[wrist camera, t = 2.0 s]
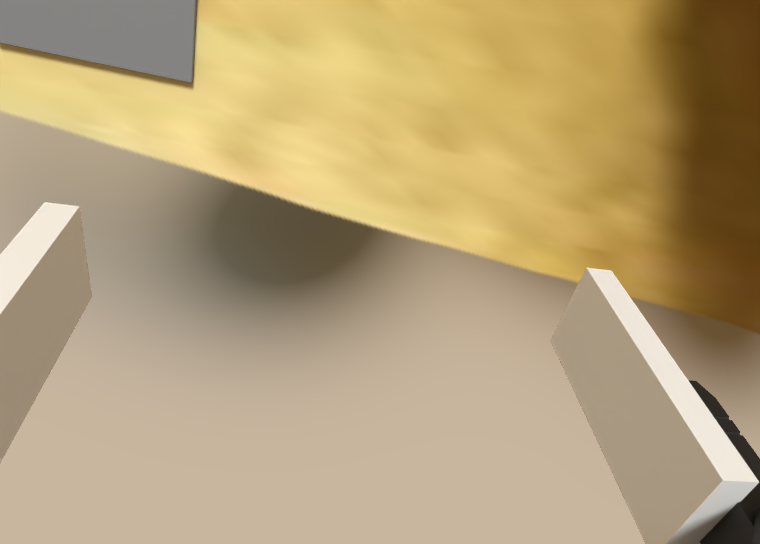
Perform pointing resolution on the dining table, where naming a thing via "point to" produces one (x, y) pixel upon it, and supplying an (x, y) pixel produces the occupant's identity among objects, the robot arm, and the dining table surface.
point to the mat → (107, 32)
